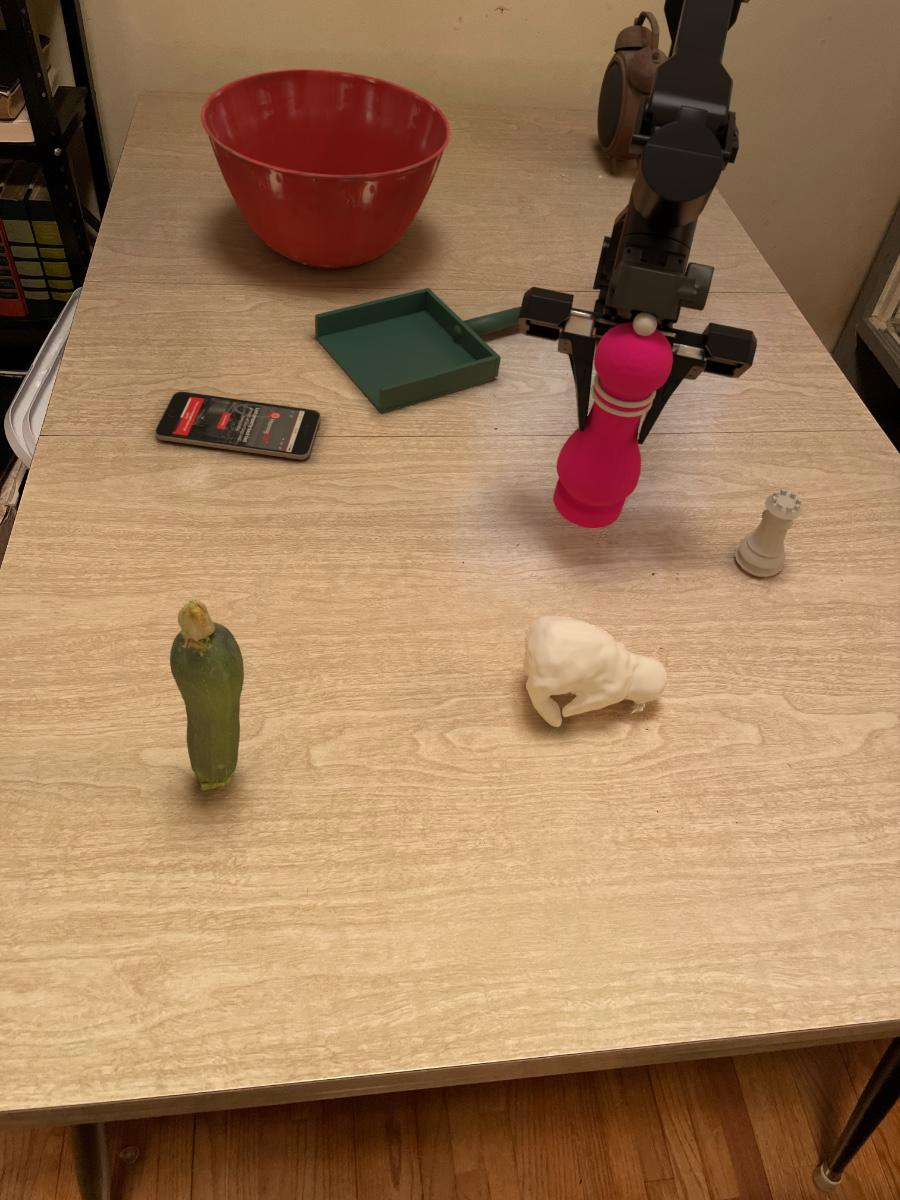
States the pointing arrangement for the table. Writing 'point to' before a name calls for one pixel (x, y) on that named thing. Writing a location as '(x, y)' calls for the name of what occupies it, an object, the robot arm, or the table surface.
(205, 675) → the vegetable
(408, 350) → the scoop
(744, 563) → the rook chess piece
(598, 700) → the cream lumpy piece
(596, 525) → the pepper mill
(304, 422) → the smartphone
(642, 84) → the alarm clock
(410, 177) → the mixing bowl
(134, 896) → the table surface
